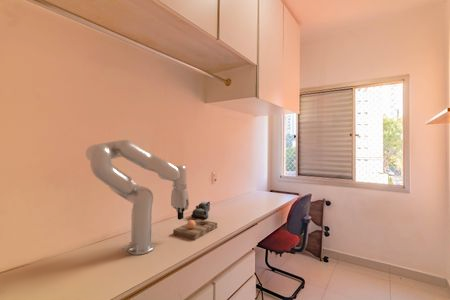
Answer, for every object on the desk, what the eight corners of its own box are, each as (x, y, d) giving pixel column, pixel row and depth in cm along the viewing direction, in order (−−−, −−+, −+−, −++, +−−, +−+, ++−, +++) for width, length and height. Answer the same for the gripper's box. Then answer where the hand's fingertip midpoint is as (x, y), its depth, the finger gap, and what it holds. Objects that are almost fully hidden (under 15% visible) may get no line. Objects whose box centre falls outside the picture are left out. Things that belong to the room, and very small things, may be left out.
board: (194, 240, 125) (194, 234, 125) (173, 234, 133) (173, 229, 133) (217, 227, 146) (217, 222, 146) (197, 223, 154) (197, 219, 154)
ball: (192, 230, 132) (192, 222, 132) (185, 229, 134) (185, 220, 134) (197, 228, 136) (197, 219, 136) (190, 226, 139) (190, 218, 139)
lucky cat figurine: (188, 216, 171) (194, 198, 177) (203, 221, 174) (208, 203, 180) (194, 215, 158) (200, 196, 164) (209, 220, 161) (215, 202, 167)
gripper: (165, 187, 129) (166, 218, 129) (185, 189, 121) (186, 222, 122) (174, 185, 135) (175, 215, 136) (194, 187, 128) (194, 218, 128)
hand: (180, 218), depth 129 cm, fingers closed
